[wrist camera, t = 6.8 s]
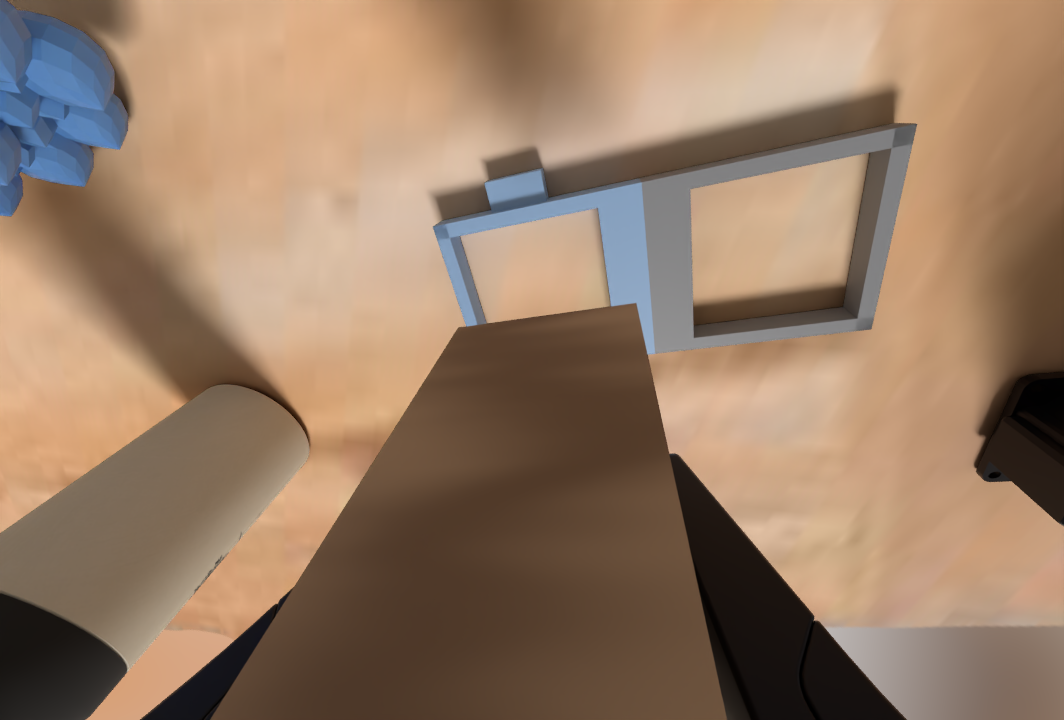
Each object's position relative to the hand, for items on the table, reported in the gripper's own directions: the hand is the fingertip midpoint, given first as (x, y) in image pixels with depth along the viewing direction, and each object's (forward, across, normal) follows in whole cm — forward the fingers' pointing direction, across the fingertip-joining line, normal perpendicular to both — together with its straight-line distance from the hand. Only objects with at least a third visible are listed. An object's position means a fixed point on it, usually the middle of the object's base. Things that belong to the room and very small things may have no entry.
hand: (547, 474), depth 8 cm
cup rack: (+12, -3, 0) cm, 13 cm away
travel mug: (+13, +24, +8) cm, 28 cm away
